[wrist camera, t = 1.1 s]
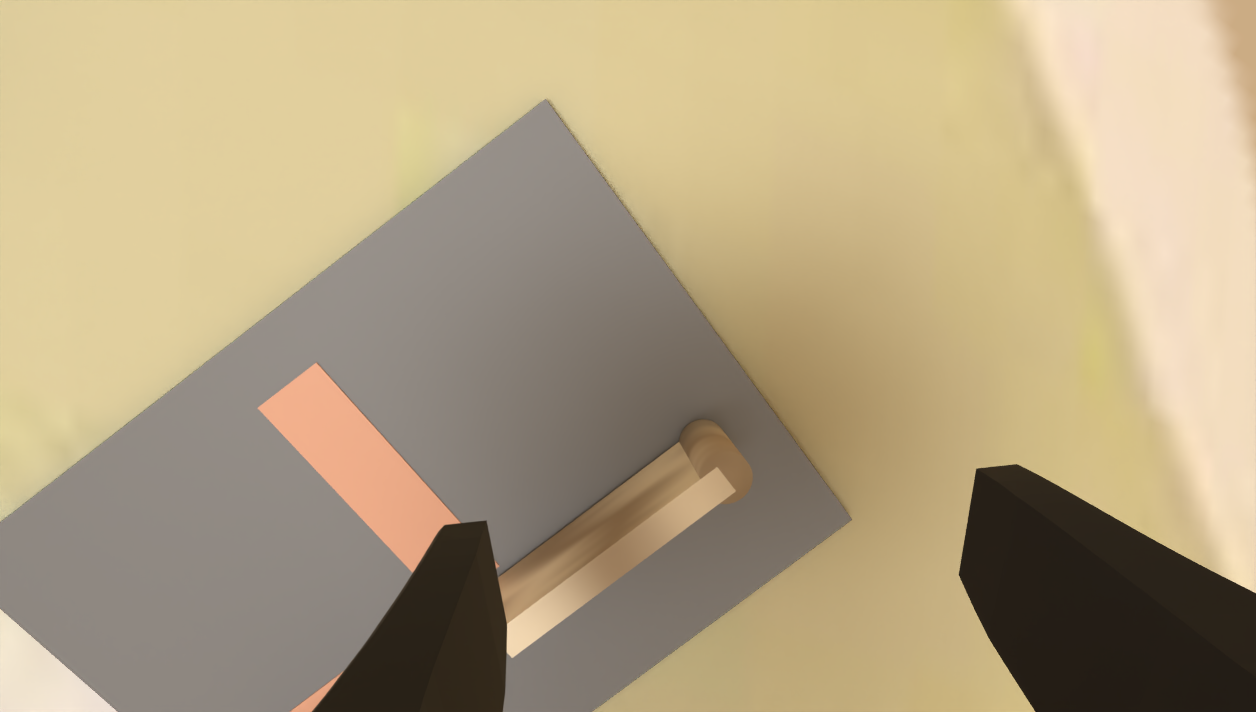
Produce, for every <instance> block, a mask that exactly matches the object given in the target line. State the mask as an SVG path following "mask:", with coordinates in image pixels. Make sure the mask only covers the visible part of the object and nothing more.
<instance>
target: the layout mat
mask: <svg viewBox="0 0 1256 712" xmlns="http://www.w3.org/2000/svg"><path fill="white" fill-rule="evenodd" d="M701 419H706V420H710V421H713V422H715V423H716V424H718V425H719V426H720V428H721V429H722V430H723V431H724V433H725V434H726V435H727V437H728V438H729V439H730V440H731V442H732V443H733V444H734V445H735V447H736V448H737V449H738V451H739V452H740V453H741V454H742V456H743V457H744V458H745V460H746V461H747V462H748V464H749V465H750V467H751V469H752V473H753V481H752V485H751V488H750V489H749V491H748V493H747V494H746V495H745V496H744V497H743V498H742V499H740V500H739V501H736V502H734V503H731V504H718V505H717V506H716V507H714V508H713V509H712V510H710V511H709V512H708V513H706V514H705V515H704V516H702V517H701V518H700V519H698V520H697V521H695V522H694V523H693V524H691V525H690V526H689V527H687V528H686V529H685V530H683V531H682V532H681V533H679V534H678V535H677V536H675V537H674V538H673V539H671V540H670V541H669V542H667V543H666V544H665V545H663V546H662V547H661V548H659V549H658V550H657V551H655V552H654V553H653V554H651V555H650V556H649V557H647V558H646V559H644V560H643V561H642V562H640V563H639V564H638V565H636V566H635V567H634V568H632V569H631V570H630V571H628V572H627V573H626V574H624V575H623V576H622V577H620V578H619V579H618V580H616V581H615V582H614V583H612V584H611V585H610V586H608V587H607V588H606V589H604V590H603V591H602V592H600V593H599V594H598V595H596V596H595V597H594V598H592V599H591V600H589V601H588V602H587V603H585V604H584V605H583V606H581V607H580V608H579V609H577V610H576V611H575V612H573V613H572V614H571V615H569V616H568V617H567V618H565V619H564V620H563V621H561V622H560V623H559V624H557V625H556V626H555V627H553V628H552V629H551V630H549V631H548V632H547V633H545V634H544V635H543V636H541V637H540V638H539V639H537V640H536V641H534V642H533V643H532V644H530V645H529V646H528V647H526V648H525V649H524V650H522V651H521V652H520V653H518V654H517V655H516V656H514V657H513V658H511V656H510V655H509V654H508V653H507V656H506V687H505V699H504V706H503V712H592V711H594V710H595V709H597V708H598V707H599V706H601V705H602V704H603V703H605V702H606V701H607V700H609V699H610V698H611V697H613V696H614V695H615V694H617V693H618V692H620V691H621V690H622V689H624V688H625V687H626V686H628V685H629V684H630V683H632V682H633V681H634V680H636V679H637V678H638V677H640V676H641V675H643V674H644V673H645V672H647V671H648V670H649V669H651V668H652V667H653V666H655V665H656V664H657V663H659V662H660V661H661V660H663V659H664V658H666V657H667V656H668V655H670V654H671V653H672V652H674V651H675V650H676V649H678V648H679V647H680V646H682V645H683V644H684V643H686V642H687V641H689V640H690V639H691V638H693V637H694V636H695V635H697V634H698V633H699V632H701V631H702V630H703V629H705V628H706V627H707V626H709V625H710V624H712V623H713V622H714V621H716V620H717V619H718V618H720V617H721V616H722V615H724V614H725V613H726V612H728V611H729V610H730V609H732V608H733V607H735V606H736V605H737V604H739V603H740V602H741V601H743V600H744V599H745V598H747V597H748V596H749V595H751V594H752V593H753V592H755V591H756V590H758V589H759V588H760V587H762V586H763V585H764V584H766V583H767V582H768V581H770V580H771V579H772V578H774V577H775V576H777V575H778V574H779V573H781V572H782V571H783V570H785V569H786V568H787V567H789V566H790V565H791V564H793V563H794V562H795V561H797V560H798V559H800V558H801V557H802V556H804V555H805V554H806V553H808V552H809V551H810V550H812V549H813V548H814V547H816V546H817V545H818V544H820V543H821V542H823V541H824V540H825V539H827V538H828V537H829V536H831V535H832V534H833V533H835V532H836V531H837V530H839V529H840V528H841V527H843V526H844V525H846V524H847V523H848V522H850V521H851V520H852V519H851V517H850V516H849V515H848V513H847V512H846V510H845V509H844V508H843V506H842V505H841V504H840V502H839V501H838V499H837V498H836V497H835V495H834V494H833V493H832V491H831V490H830V488H829V487H828V486H827V484H826V483H825V482H824V480H823V479H822V478H821V476H820V475H819V473H818V472H817V471H816V469H815V468H814V467H813V465H812V464H811V462H810V461H809V460H808V458H807V457H806V456H805V454H804V453H803V451H802V450H801V449H800V447H799V446H798V445H797V443H796V442H795V440H794V439H793V438H792V436H791V435H790V434H789V432H788V431H787V429H786V428H785V427H784V425H783V424H782V423H781V421H780V420H779V419H778V417H777V416H776V414H775V413H774V412H773V410H772V409H771V408H770V406H769V405H768V403H767V402H766V401H765V399H764V398H763V397H762V395H761V394H760V392H759V391H758V390H757V388H756V387H755V386H754V384H753V383H752V381H751V380H750V379H749V377H748V376H747V375H746V373H745V372H744V370H743V369H742V368H741V366H740V365H739V364H738V362H737V361H736V359H735V358H734V357H733V355H732V354H731V353H730V351H729V350H728V349H727V347H726V346H725V344H724V343H723V342H722V340H721V339H720V338H719V336H718V335H717V333H716V332H715V331H714V329H713V328H712V327H711V325H710V324H709V322H708V321H707V320H706V318H705V317H704V316H703V314H702V313H701V311H700V310H699V309H698V307H697V306H696V305H695V303H694V302H693V300H692V299H691V298H690V296H689V295H688V294H687V292H686V291H685V290H684V288H683V287H682V285H681V284H680V283H679V281H678V280H677V279H676V277H675V276H674V274H673V273H672V272H671V270H670V269H669V268H668V266H667V265H666V263H665V262H664V261H663V259H662V258H661V257H660V255H659V254H658V252H657V251H656V250H655V248H654V247H653V246H652V244H651V243H650V241H649V240H648V239H647V237H646V236H645V235H644V233H643V232H642V230H641V229H640V228H639V226H638V225H637V224H636V222H635V221H634V220H633V218H632V217H631V215H630V214H629V213H628V211H627V210H626V209H625V207H624V206H623V204H622V203H621V202H620V200H619V199H618V198H617V196H616V195H615V193H614V192H613V191H612V189H611V188H610V187H609V185H608V184H607V182H606V181H605V180H604V178H603V177H602V176H601V174H600V173H599V171H598V170H597V169H596V167H595V166H594V165H593V163H592V162H591V161H590V159H589V158H588V156H587V155H586V154H585V152H584V151H583V150H582V148H581V147H580V145H579V144H578V143H577V141H576V140H575V139H574V137H573V136H572V134H571V133H570V132H569V130H568V129H567V128H566V126H565V125H564V123H563V122H562V121H561V119H560V118H559V117H558V115H557V114H556V112H555V111H554V110H553V108H552V107H551V106H550V104H549V103H548V102H547V100H546V99H545V100H544V101H542V102H541V103H540V104H538V105H537V106H536V107H535V108H533V109H532V110H531V111H529V112H528V113H527V114H526V115H524V116H523V117H522V118H520V119H519V120H518V121H517V122H515V123H514V124H513V125H511V126H510V127H509V128H508V129H506V130H505V131H504V132H502V133H501V134H500V135H499V136H497V137H496V138H495V139H493V140H492V141H491V142H490V143H488V144H487V145H486V146H484V147H483V148H482V149H480V150H479V151H478V152H477V153H475V154H474V155H473V156H471V157H470V158H469V159H468V160H466V161H465V162H464V163H462V164H461V165H460V166H459V167H457V168H456V169H455V170H453V171H452V172H451V173H450V174H448V175H447V176H446V177H444V178H443V179H442V180H441V181H439V182H438V183H437V184H435V185H434V186H433V187H432V188H430V189H429V190H428V191H426V192H425V193H424V194H423V195H421V196H420V197H419V198H417V199H416V200H415V201H413V202H412V203H411V204H410V205H408V206H407V207H406V208H404V209H403V210H402V211H401V212H399V213H398V214H397V215H395V216H394V217H393V218H392V219H390V220H389V221H388V222H386V223H385V224H384V225H383V226H381V227H380V228H379V229H377V230H376V231H375V232H374V233H372V234H371V235H370V236H368V237H367V238H366V239H365V240H363V241H362V242H361V243H359V244H358V245H357V246H356V247H354V248H353V249H352V250H350V251H349V252H348V253H347V254H345V255H344V256H343V257H341V258H340V259H339V260H337V261H336V262H335V263H334V264H332V265H331V266H330V267H328V268H327V269H326V270H325V271H323V272H322V273H321V274H319V275H318V276H317V277H316V278H314V279H313V280H312V281H310V282H309V283H308V284H307V285H305V286H304V287H303V288H301V289H300V290H299V291H298V292H296V293H295V294H294V295H292V296H291V297H290V298H289V299H287V300H286V301H285V302H283V303H282V304H281V305H280V306H278V307H277V308H276V309H274V310H273V311H272V312H271V313H269V314H268V315H267V316H265V317H264V318H263V319H261V320H260V321H259V322H258V323H256V324H255V325H254V326H252V327H251V328H250V329H249V330H247V331H246V332H245V333H243V334H242V335H241V336H240V337H238V338H237V339H236V340H234V341H233V342H232V343H231V344H229V345H228V346H227V347H225V348H224V349H223V350H222V351H220V352H219V353H218V354H216V355H215V356H214V357H213V358H211V359H210V360H209V361H207V362H206V363H205V364H204V365H202V366H201V367H200V368H198V369H197V370H196V371H194V372H193V373H192V374H191V375H189V376H188V377H187V378H185V379H184V380H183V381H182V382H180V383H179V384H178V385H176V386H175V387H174V388H173V389H171V390H170V391H169V392H167V393H166V394H165V395H164V396H162V397H161V398H160V399H158V400H157V401H156V402H155V403H153V404H152V405H151V406H149V407H148V408H147V409H146V410H144V411H143V412H142V413H140V414H139V415H138V416H137V417H135V418H134V419H133V420H131V421H130V422H129V423H128V424H126V425H125V426H124V427H122V428H121V429H120V430H118V431H117V432H116V433H115V434H113V435H112V436H111V437H109V438H108V439H107V440H106V441H104V442H103V443H102V444H100V445H99V446H98V447H97V448H95V449H94V450H93V451H91V452H90V453H89V454H88V455H86V456H85V457H84V458H82V459H81V460H80V461H79V462H77V463H76V464H75V465H73V466H72V467H71V468H70V469H68V470H67V471H66V472H64V473H63V474H62V475H61V476H59V477H58V478H57V479H55V480H54V481H53V482H51V483H50V484H49V485H48V486H46V487H45V488H44V489H42V490H41V491H40V492H39V493H37V494H36V495H35V496H33V497H32V498H31V499H30V500H28V501H27V502H26V503H24V504H23V505H22V506H21V507H19V508H18V509H17V510H15V511H14V512H13V513H12V514H10V515H9V516H8V517H6V518H5V519H4V520H3V521H1V522H0V609H1V610H2V611H3V612H4V613H6V614H7V615H8V616H9V617H10V618H11V619H12V620H14V621H15V622H16V623H17V624H18V625H19V626H20V627H22V628H23V629H24V630H25V631H26V632H27V633H28V634H30V635H31V636H32V637H33V638H34V639H35V640H36V641H38V642H39V643H40V644H41V645H42V646H43V647H44V648H46V649H47V650H48V651H49V652H50V653H51V654H52V655H54V656H55V657H56V658H57V659H58V660H59V661H60V662H62V663H63V664H64V665H65V666H66V667H67V668H68V669H70V670H71V671H72V672H73V673H74V674H75V675H76V676H78V677H79V678H80V679H81V680H82V681H83V682H84V683H86V684H87V685H88V686H89V687H90V688H91V689H92V690H94V691H95V692H96V693H97V694H98V695H99V696H100V697H102V698H103V699H104V700H105V701H106V702H107V703H108V704H110V705H111V706H112V707H113V708H114V709H115V710H116V711H118V712H312V711H313V710H314V708H315V707H316V706H317V705H318V703H319V702H320V701H321V700H322V699H323V697H324V696H325V695H326V694H327V692H328V691H329V690H330V688H331V687H332V686H333V684H334V683H335V682H336V681H337V679H338V678H339V677H340V675H341V674H342V673H343V671H344V670H345V669H346V668H347V666H348V665H349V664H350V662H351V661H352V660H353V659H354V657H355V656H356V655H357V653H358V652H359V651H360V649H361V648H362V647H363V645H364V644H365V643H366V641H367V640H368V638H369V637H370V636H371V634H372V633H373V631H374V630H375V628H376V627H377V625H378V624H379V623H380V621H381V620H382V618H383V617H384V615H385V614H386V612H387V611H388V610H389V608H390V607H391V605H392V604H393V602H394V601H395V599H396V598H397V596H398V595H399V593H400V592H401V590H402V589H403V587H404V586H405V584H406V583H407V581H408V580H409V578H410V576H411V575H412V573H413V572H414V570H415V569H416V567H417V565H418V564H419V562H420V561H421V559H422V557H423V556H424V554H425V552H426V551H427V549H428V548H429V546H430V544H431V543H432V541H433V539H434V538H435V536H436V534H437V533H438V531H439V530H440V529H441V528H442V527H443V526H444V525H448V524H457V523H467V522H476V521H486V520H487V525H488V530H489V535H490V540H491V545H492V550H493V555H494V560H495V565H496V570H497V575H498V577H500V576H501V575H502V574H504V573H505V572H506V571H508V570H509V569H510V568H512V567H513V566H514V565H516V564H517V563H518V562H520V561H521V560H522V559H524V558H525V557H526V556H528V555H529V554H530V553H532V552H533V551H534V550H536V549H537V548H538V547H540V546H541V545H542V544H544V543H545V542H546V541H548V540H549V539H550V538H552V537H553V536H554V535H556V534H557V533H558V532H560V531H561V530H562V529H564V528H565V527H566V526H568V525H569V524H570V523H572V522H573V521H574V520H576V519H577V518H578V517H580V516H581V515H582V514H584V513H585V512H586V511H588V510H589V509H590V508H592V507H593V506H594V505H596V504H597V503H598V502H599V501H601V500H602V499H603V498H605V497H606V496H607V495H609V494H610V493H611V492H613V491H614V490H615V489H617V488H618V487H619V486H621V485H622V484H623V483H625V482H626V481H627V480H629V479H630V478H631V477H633V476H634V475H635V474H637V473H638V472H639V471H641V470H642V469H643V468H645V467H646V466H647V465H649V464H650V463H651V462H653V461H654V460H655V459H657V458H658V457H659V456H661V455H662V454H663V453H665V452H666V451H667V450H669V449H670V448H671V447H673V446H674V445H675V444H677V443H678V442H679V439H680V435H681V433H682V431H683V430H684V428H685V427H686V426H687V425H688V424H690V423H691V422H693V421H696V420H701Z"/></svg>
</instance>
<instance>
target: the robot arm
mask: <svg viewBox="0 0 1256 712" xmlns="http://www.w3.org/2000/svg"><path fill="white" fill-rule="evenodd" d="M959 576H960V578H961V581H962V583H963V585H964V587H965V589H966V592H967V594H968V596H969V598H970V600H971V603H972V605H973V607H974V609H975V611H976V613H977V615H978V617H979V619H980V621H981V623H982V625H983V627H984V629H985V631H986V633H987V635H988V638H989V639H990V641H991V642H992V644H993V646H994V647H995V649H996V650H997V652H998V654H999V655H1000V657H1001V658H1002V660H1003V662H1004V663H1005V665H1006V666H1007V668H1008V669H1009V671H1010V673H1011V674H1012V676H1013V677H1014V679H1015V681H1016V682H1017V684H1018V685H1019V687H1020V688H1021V690H1022V691H1023V693H1024V695H1025V696H1026V698H1027V699H1028V701H1029V702H1030V704H1031V705H1032V707H1033V708H1034V710H1035V712H1256V593H1254V592H1252V591H1250V590H1248V589H1246V588H1244V587H1242V586H1240V585H1238V584H1236V583H1234V582H1232V581H1230V580H1228V579H1226V578H1224V577H1222V576H1220V575H1219V574H1217V573H1215V572H1213V571H1211V570H1209V569H1207V568H1205V567H1203V566H1201V565H1199V564H1197V563H1195V562H1193V561H1192V560H1190V559H1188V558H1186V557H1184V556H1182V555H1180V554H1178V553H1177V552H1175V551H1173V550H1171V549H1169V548H1167V547H1166V546H1164V545H1162V544H1160V543H1158V542H1156V541H1155V540H1153V539H1151V538H1149V537H1147V536H1146V535H1144V534H1142V533H1140V532H1138V531H1137V530H1135V529H1133V528H1131V527H1130V526H1128V525H1126V524H1124V523H1122V522H1121V521H1119V520H1117V519H1115V518H1114V517H1112V516H1110V515H1108V514H1107V513H1105V512H1103V511H1101V510H1100V509H1098V508H1096V507H1094V506H1093V505H1091V504H1089V503H1087V502H1086V501H1084V500H1082V499H1080V498H1079V497H1077V496H1075V495H1073V494H1072V493H1070V492H1068V491H1066V490H1064V489H1063V488H1061V487H1059V486H1057V485H1055V484H1054V483H1052V482H1050V481H1048V480H1046V479H1045V478H1043V477H1041V476H1039V475H1037V474H1035V473H1033V472H1031V471H1029V470H1027V469H1025V468H1023V467H1021V466H1019V465H1017V464H1016V465H1007V466H997V467H988V468H978V469H976V474H975V480H974V486H973V492H972V498H971V504H970V510H969V516H968V523H967V529H966V535H965V541H964V547H963V553H962V559H961V565H960V571H959ZM506 656H507V621H506V616H505V611H504V606H503V601H502V596H501V591H500V586H499V580H498V575H497V570H496V565H495V560H494V555H493V550H492V545H491V540H490V535H489V530H488V525H487V520H486V521H476V522H467V523H457V524H448V525H444V526H443V527H442V528H441V529H440V530H439V531H438V533H437V534H436V536H435V538H434V539H433V541H432V543H431V544H430V546H429V548H428V549H427V551H426V552H425V554H424V556H423V557H422V559H421V561H420V562H419V564H418V565H417V567H416V569H415V570H414V572H413V573H412V575H411V576H410V578H409V580H408V581H407V583H406V584H405V586H404V587H403V589H402V590H401V592H400V593H399V595H398V596H397V598H396V599H395V601H394V602H393V604H392V605H391V607H390V608H389V610H388V611H387V612H386V614H385V615H384V617H383V618H382V620H381V621H380V623H379V624H378V625H377V627H376V628H375V630H374V631H373V633H372V634H371V636H370V637H369V638H368V640H367V641H366V643H365V644H364V645H363V647H362V648H361V649H360V651H359V652H358V653H357V655H356V656H355V657H354V659H353V660H352V661H351V662H350V664H349V665H348V666H347V668H346V669H345V670H344V671H343V673H342V674H341V675H340V677H339V678H338V679H337V681H336V682H335V683H334V684H333V686H332V687H331V688H330V690H329V691H328V692H327V694H326V695H325V696H324V697H323V699H322V700H321V701H320V702H319V703H318V705H317V706H316V707H315V708H314V710H313V711H312V712H503V706H504V699H505V687H506Z"/></svg>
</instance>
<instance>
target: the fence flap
mask: <svg viewBox="0 0 1256 712" xmlns="http://www.w3.org/2000/svg"><path fill="white" fill-rule="evenodd" d="M752 481H753V473H752V469H751V467H750V465H749V464H748V462H747V461H746V460H745V458H744V457H743V456H742V454H741V453H740V452H739V451H738V449H737V448H736V447H735V445H734V444H733V443H732V442H731V440H730V439H729V438H728V437H727V435H726V434H725V433H724V431H723V430H722V429H721V428H720V426H719V425H718V424H716V423H715V422H713V421H710V420H706V419H701V420H696V421H693V422H691V423H690V424H688V425H687V426H686V427H685V428H684V430H683V431H682V433H681V435H680V439H679V442H678V443H677V444H675V445H674V446H673V447H671V448H670V449H669V450H667V451H666V452H665V453H663V454H662V455H661V456H659V457H658V458H657V459H655V460H654V461H653V462H651V463H650V464H649V465H647V466H646V467H645V468H643V469H642V470H641V471H639V472H638V473H637V474H635V475H634V476H633V477H631V478H630V479H629V480H627V481H626V482H625V483H623V484H622V485H621V486H619V487H618V488H617V489H615V490H614V491H613V492H611V493H610V494H609V495H607V496H606V497H605V498H603V499H602V500H601V501H599V502H598V503H597V504H596V505H594V506H593V507H592V508H590V509H589V510H588V511H586V512H585V513H584V514H582V515H581V516H580V517H578V518H577V519H576V520H574V521H573V522H572V523H570V524H569V525H568V526H566V527H565V528H564V529H562V530H561V531H560V532H558V533H557V534H556V535H554V536H553V537H552V538H550V539H549V540H548V541H546V542H545V543H544V544H542V545H541V546H540V547H538V548H537V549H536V550H534V551H533V552H532V553H530V554H529V555H528V556H526V557H525V558H524V559H522V560H521V561H520V562H518V563H517V564H516V565H514V566H513V567H512V568H510V569H509V570H508V571H506V572H505V573H504V574H502V575H501V576H500V577H498V580H499V586H500V591H501V596H502V601H503V606H504V611H505V616H506V621H507V653H508V654H509V655H510V656H511V658H513V657H514V656H516V655H517V654H518V653H520V652H521V651H522V650H524V649H525V648H526V647H528V646H529V645H530V644H532V643H533V642H534V641H536V640H537V639H539V638H540V637H541V636H543V635H544V634H545V633H547V632H548V631H549V630H551V629H552V628H553V627H555V626H556V625H557V624H559V623H560V622H561V621H563V620H564V619H565V618H567V617H568V616H569V615H571V614H572V613H573V612H575V611H576V610H577V609H579V608H580V607H581V606H583V605H584V604H585V603H587V602H588V601H589V600H591V599H592V598H594V597H595V596H596V595H598V594H599V593H600V592H602V591H603V590H604V589H606V588H607V587H608V586H610V585H611V584H612V583H614V582H615V581H616V580H618V579H619V578H620V577H622V576H623V575H624V574H626V573H627V572H628V571H630V570H631V569H632V568H634V567H635V566H636V565H638V564H639V563H640V562H642V561H643V560H644V559H646V558H647V557H649V556H650V555H651V554H653V553H654V552H655V551H657V550H658V549H659V548H661V547H662V546H663V545H665V544H666V543H667V542H669V541H670V540H671V539H673V538H674V537H675V536H677V535H678V534H679V533H681V532H682V531H683V530H685V529H686V528H687V527H689V526H690V525H691V524H693V523H694V522H695V521H697V520H698V519H700V518H701V517H702V516H704V515H705V514H706V513H708V512H709V511H710V510H712V509H713V508H714V507H716V506H717V505H718V504H731V503H734V502H736V501H739V500H740V499H742V498H743V497H744V496H745V495H746V494H747V493H748V491H749V489H750V488H751V485H752Z"/></svg>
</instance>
